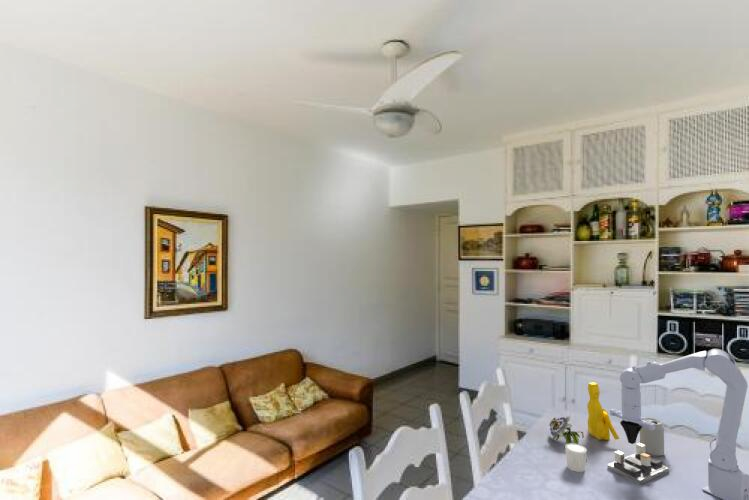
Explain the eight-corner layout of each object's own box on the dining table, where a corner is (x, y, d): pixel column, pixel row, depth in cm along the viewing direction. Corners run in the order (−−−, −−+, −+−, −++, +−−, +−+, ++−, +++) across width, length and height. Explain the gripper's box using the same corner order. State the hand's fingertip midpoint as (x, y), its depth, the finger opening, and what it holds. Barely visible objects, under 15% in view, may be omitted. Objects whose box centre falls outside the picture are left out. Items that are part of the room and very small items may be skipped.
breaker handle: (650, 465, 136) (650, 455, 136) (646, 466, 135) (646, 456, 135) (644, 462, 138) (644, 452, 138) (640, 463, 137) (640, 454, 137)
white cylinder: (575, 474, 137) (575, 453, 137) (560, 464, 144) (560, 444, 144) (591, 471, 139) (591, 450, 139) (576, 461, 146) (576, 441, 146)
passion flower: (554, 453, 161) (542, 422, 168) (581, 448, 162) (567, 417, 168) (562, 449, 152) (549, 416, 159) (590, 443, 152) (576, 410, 159)
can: (668, 458, 146) (668, 425, 146) (645, 456, 148) (645, 424, 148) (658, 448, 154) (657, 417, 154) (636, 446, 155) (636, 415, 155)
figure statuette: (623, 447, 155) (623, 390, 155) (604, 448, 154) (604, 391, 154) (593, 426, 173) (593, 375, 173) (576, 428, 172) (575, 376, 172)
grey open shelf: (668, 472, 137) (668, 453, 137) (640, 485, 131) (639, 465, 130) (635, 457, 147) (635, 439, 147) (607, 468, 140) (607, 450, 140)
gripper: (604, 399, 145) (604, 436, 145) (645, 413, 132) (646, 454, 132) (616, 395, 149) (617, 432, 149) (658, 409, 135) (659, 449, 135)
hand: (631, 442), depth 141 cm, fingers closed
